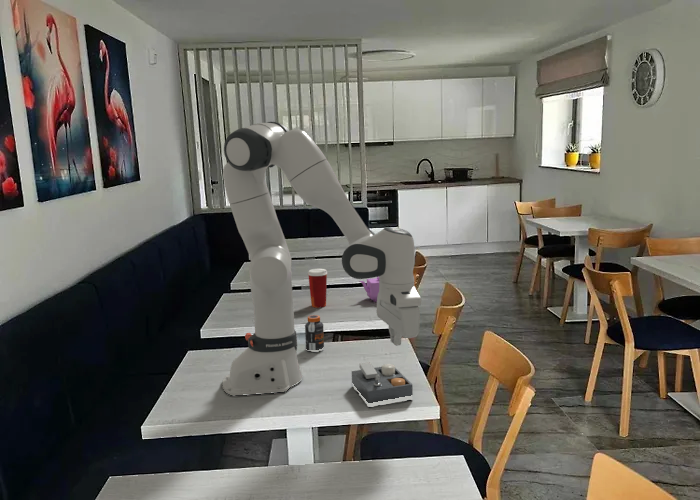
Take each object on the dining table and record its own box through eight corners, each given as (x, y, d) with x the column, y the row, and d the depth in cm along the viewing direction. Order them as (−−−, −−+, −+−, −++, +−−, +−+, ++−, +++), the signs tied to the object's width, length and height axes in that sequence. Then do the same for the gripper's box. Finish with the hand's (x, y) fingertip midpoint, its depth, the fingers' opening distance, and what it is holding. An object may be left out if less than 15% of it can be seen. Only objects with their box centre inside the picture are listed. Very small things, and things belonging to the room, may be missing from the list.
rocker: (366, 378, 152) (366, 375, 152) (359, 367, 158) (359, 363, 157) (377, 377, 153) (377, 373, 153) (369, 365, 158) (369, 361, 158)
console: (368, 408, 146) (368, 380, 144) (352, 386, 159) (351, 360, 158) (412, 400, 149) (412, 373, 148) (392, 380, 162) (392, 355, 161)
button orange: (394, 398, 149) (394, 384, 148) (389, 393, 152) (389, 379, 152) (407, 396, 150) (407, 382, 149) (402, 391, 153) (401, 377, 153)
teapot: (395, 293, 255) (395, 271, 253) (404, 301, 242) (403, 278, 241) (355, 296, 252) (354, 274, 250) (362, 304, 239) (361, 281, 237)
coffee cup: (332, 304, 241) (331, 269, 238) (321, 309, 234) (319, 273, 231) (316, 302, 245) (314, 267, 242) (304, 306, 238) (303, 271, 235)
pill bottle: (317, 354, 184) (315, 320, 182) (302, 351, 187) (300, 317, 185) (327, 348, 189) (326, 315, 187) (313, 345, 192) (311, 312, 190)
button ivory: (384, 383, 155) (384, 369, 155) (380, 378, 159) (379, 365, 158) (397, 381, 156) (396, 367, 156) (392, 376, 160) (392, 363, 159)
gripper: (370, 283, 155) (370, 332, 158) (400, 302, 136) (399, 358, 138) (392, 281, 157) (392, 330, 160) (424, 300, 138) (423, 355, 140)
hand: (395, 343), depth 149 cm, fingers closed
